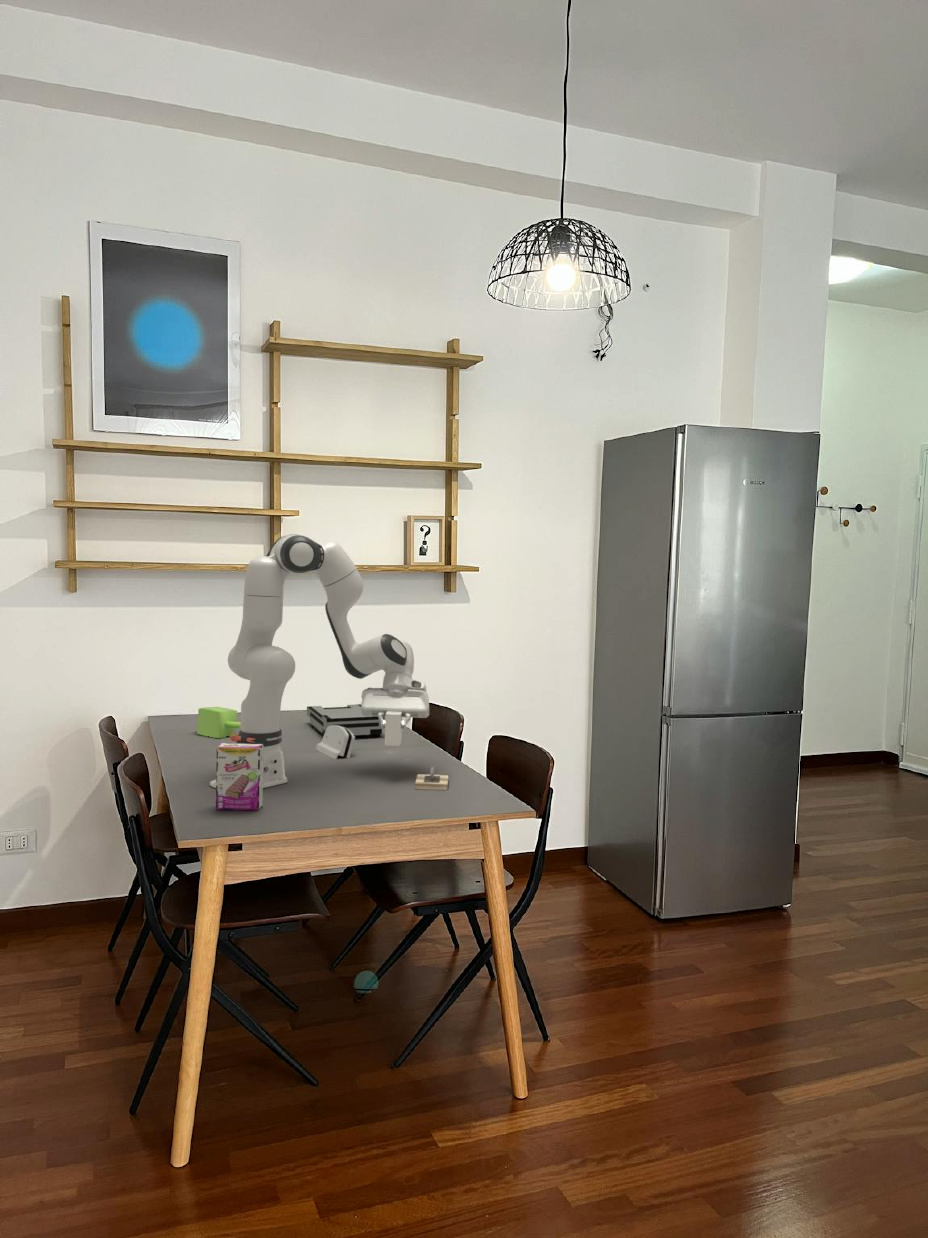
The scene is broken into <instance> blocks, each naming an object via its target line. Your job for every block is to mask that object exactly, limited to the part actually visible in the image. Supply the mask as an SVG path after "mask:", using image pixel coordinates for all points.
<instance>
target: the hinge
mask: <svg viewBox="0 0 928 1238" xmlns="http://www.w3.org/2000/svg"><path fill="white" fill-rule="evenodd" d="M355 740H356V735H353V733H352V732H351V731H350V730H348V729H347V728H345V727H341V726H337V725H331V726H328V727H327V729H326V731H325V734H324V736H323V737H322V739H321V741H320V742H319V743H317V744H316V747H315V750H317V751H318V752H320V753H322V754H324V755H326V756H328V757H330V758H332V759H334V760H338V756H341V757H344V758H347V759H349V758H351V754H352V750H353V748H354V744H355Z"/></svg>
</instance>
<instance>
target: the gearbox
mask: <svg viewBox="0 0 928 1238" xmlns="http://www.w3.org/2000/svg"><path fill="white" fill-rule="evenodd" d="M197 712H198V714H197V729H196V731H197V735H200V736H204V737H208V736H209V738H214V739H215V738H216V739H224V738H227V737H226V736H229V737H230V736H231V735H232V734H236V735H237V729H241V721H238V710H236V709H232V708H225V707H220V706H211V707H208V706H207V707H201V708H198V711H197ZM223 737H224V738H223Z"/></svg>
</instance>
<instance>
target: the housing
mask: <svg viewBox="0 0 928 1238" xmlns="http://www.w3.org/2000/svg"><path fill="white" fill-rule="evenodd" d="M401 721H403V717H402V712H395V711H387V712H386V714H385V728H384V746H391V747H392V746H393V747H394V746H397V747H400V746H401V743H402V733H403V732H402V731H403V729H401Z"/></svg>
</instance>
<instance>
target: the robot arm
mask: <svg viewBox="0 0 928 1238" xmlns="http://www.w3.org/2000/svg"><path fill="white" fill-rule="evenodd" d="M308 572H313V573H314V574H315V575H316V577H318V579H319V581H320V583H321V585H322V587H323V588H324V591H325V593H326V597H327V598H326V600H327V601H326V603H325V613H326V616H327V619H328V623H329V625H330V629H331V631H332V633H333V636H334V638H335V641H336V644H337V645H338V648H339V652H340V654H341V658H342V659H341V660H342V664H343V667H344V669H345V672H347V673H348V674H349V675H351V676H352V677H354V678H356V679H359V680H362V679H364V678H367V677H368V676H370V675H372V674H373V673H377V672H378V671H383V672H384V676H383V679H382V687H367V688H365V689H363V690H362V692H361V696H360V697H361V699H362V700H361V703H360V704H361V713H362V714H363V715H364V716H378V717H379V720H380V722H381V728H384V729H385V720H384V719H383V717H385V714H386V712H387V711H395V712H402V718H404V720H402V721H401V729H402V730H404V729H405V730H406V729H407V725H408V724H409V722H410V721H411V718H413V719H414V718H419V719H426V718H428V717H429V716H430V700H429V695H428V692H427V686H426V683H425V682H422V681H419V680H416V679H413V677H412V676H413V674H414V670H415V669H414V668H415V666H414V665H415V657H414V655H415V654H414V650H413V647H412V646H411V644H409V643H408V642H407V641H404V640H402V639H401V640H400V639H398V638H397V637H395V636H394V635H392V634H390V633H389V634H388V633H383V634H380V635H379V636H378V635H377V636H376V637H374V638H371V639H369V640H366V641H364V642H362V643H357V642H356V640H355V637H354V635H353V632H352V630H351V627H350V625H349V621H348V613H349V611H350V610H351V608H353V607H354V606H355V604H357V602H358V601H359V600H360V598H361V597H362V595H363V590H364V582H363V579H362V576H361V574H360V572H359V570H358V569H357V567H356V565H355V563H354V562H353V560H352V559H351V558H350V556H349V554H348V552H347V551H345V550H344V548H343V547H342V546H341V545H340V544H339V543H338V542H336V541H334V540H332V541H331V540H329V541H325V542H324V541H323V542H322V543H320V544H319V543H317V542H316V541H314V540H313V539H311V538H310V537H307V536H305V535H302V534H301V535H300V534H297V533H294V534H293V533H291V534H287V535H283V536H281V537H279V538H277V539H276V540H275V542H274V543H273V544H272V546H271V548H270V549H269V551H268V553H267V554H266V556H265V555H264V556H258V557H255V558H253V559H252V560H250V561H249V562H248V565H247V568H246V574H245V579H244V588H243V602H242V603H243V604H242V621H241V626H240V629H239V633H238V637H237V640H236V643H235V645H234V646H233V647H232V648H231V649H230V651H229V653H228V656H227V664H228V667H229V669H230V670H231V672H233V673H234V674H235V675H236V676H238V677H239V678H241V679H244V680H247V681H249V682H250V683H249V688H248V690H247V691H248V692H247V694H246V697H244V699H243V700H242V701H241V705H240V722H241V728H240V730H239V732H238V734H236V735H235V734H232V735H231V736H229V739H230V741H231V742H235V744H263V789H264V788H265V789H266V788H269V787H274V786H278V785H282V784H287V783H288V781H289V780H288V778H287V776H286V771H285V761H284V759H285V758H284V752H283V750H282V745H281V743H282V741H283V740H282V739H283V733H282V729H281V707H282V706H281V705H282V699H283V696H284V693H285V689H286V686H287V684H288V682H289V681H290V680H291V679H292V678H293V676H294V674H295V672H296V661H295V659H294V657H293V655H292V654H291V653H290V652H288V651H287V650H285V649H284V648H282V647H279V646H275V645H273V640H274V637H275V634H276V633H277V630H278V629H279V628H280V627H281V626H282V623H283V617H284V615H283V614H284V613H283V612H284V586H285V581H286V578H287V576H289V575H290V574H304V573H308ZM209 786H210V787H212V788H214V789H216V779H213V780H211V781H209Z"/></svg>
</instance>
